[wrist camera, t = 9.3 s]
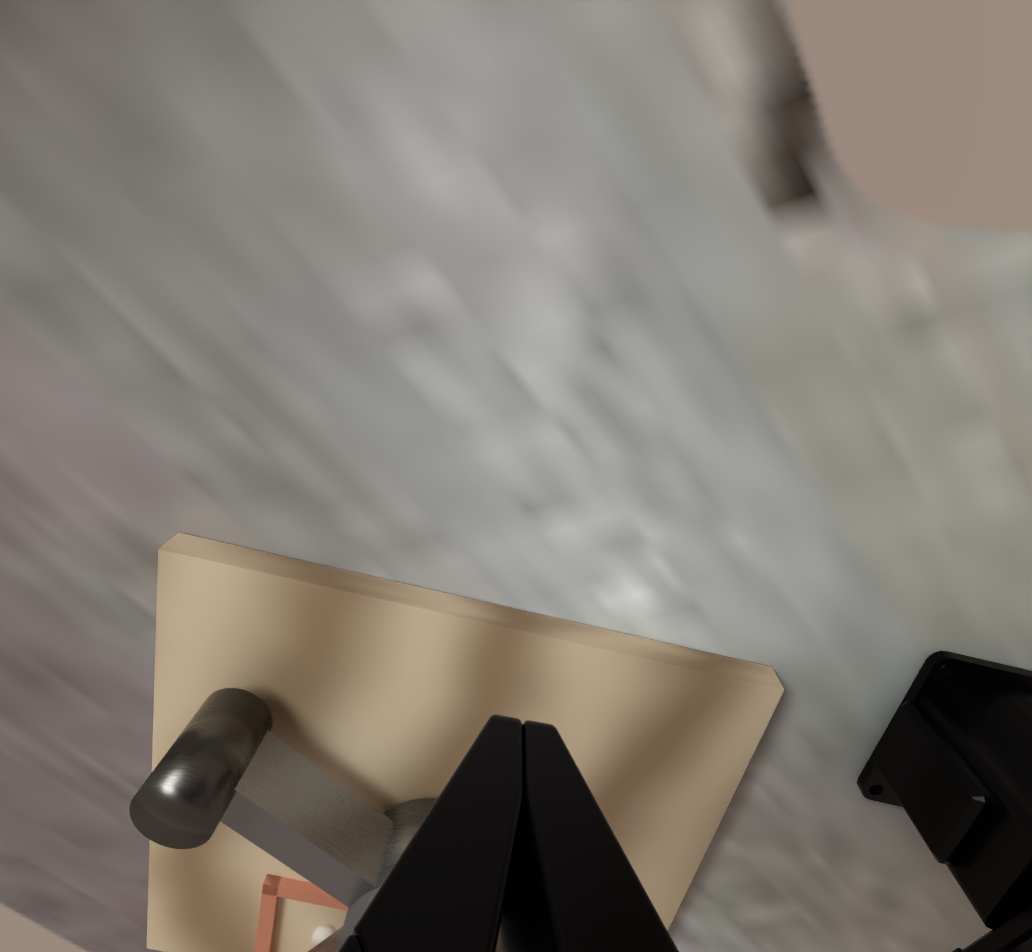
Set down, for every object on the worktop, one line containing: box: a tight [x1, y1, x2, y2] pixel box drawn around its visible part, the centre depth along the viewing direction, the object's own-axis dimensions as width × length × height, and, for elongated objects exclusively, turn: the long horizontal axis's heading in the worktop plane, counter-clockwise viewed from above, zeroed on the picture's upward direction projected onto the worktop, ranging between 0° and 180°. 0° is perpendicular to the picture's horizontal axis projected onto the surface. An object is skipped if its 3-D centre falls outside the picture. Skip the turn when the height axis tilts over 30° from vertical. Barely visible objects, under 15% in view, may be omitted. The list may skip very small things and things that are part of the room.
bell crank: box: [130, 688, 437, 952], centre depth 22 cm, size 11×20×5 cm, turn 45°
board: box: [147, 533, 784, 952], centre depth 24 cm, size 21×20×1 cm
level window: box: [255, 874, 349, 952], centre depth 26 cm, size 6×6×1 cm
